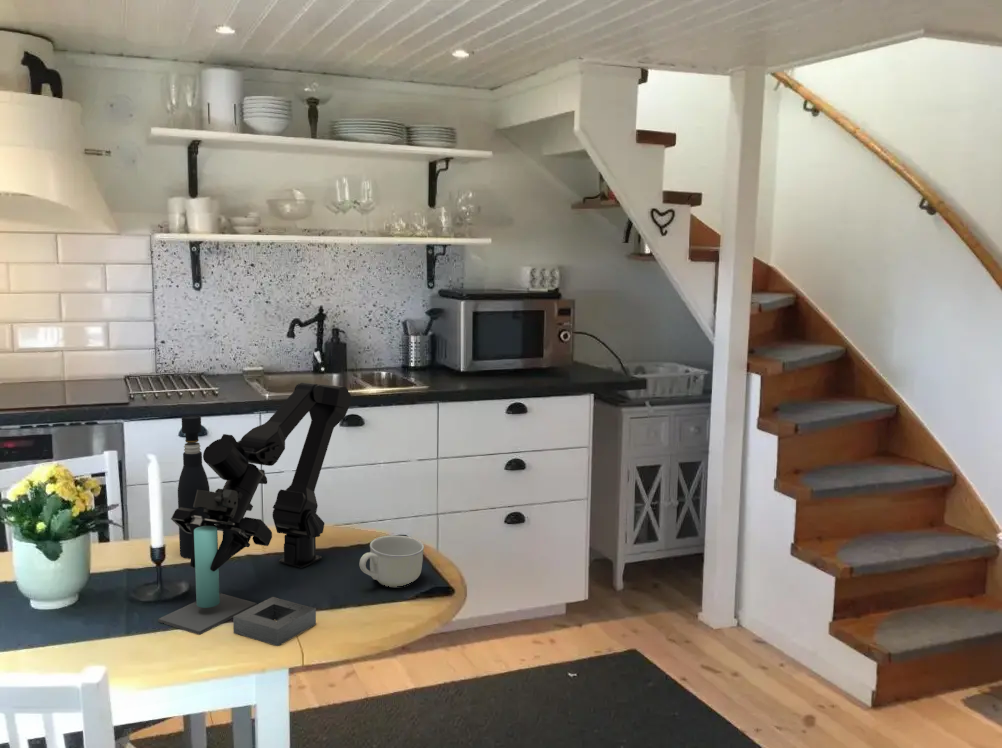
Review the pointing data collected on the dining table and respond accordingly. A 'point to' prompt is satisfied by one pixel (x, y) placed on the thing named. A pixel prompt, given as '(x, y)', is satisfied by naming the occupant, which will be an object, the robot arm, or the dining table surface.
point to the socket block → (265, 629)
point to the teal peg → (206, 566)
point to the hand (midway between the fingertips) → (202, 568)
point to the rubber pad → (206, 614)
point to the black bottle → (191, 477)
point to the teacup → (394, 560)
